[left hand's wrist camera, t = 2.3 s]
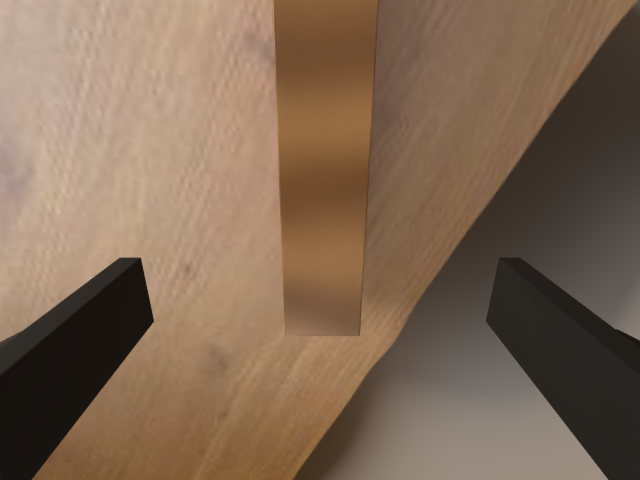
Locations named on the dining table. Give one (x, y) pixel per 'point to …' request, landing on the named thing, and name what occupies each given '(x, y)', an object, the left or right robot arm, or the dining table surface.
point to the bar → (324, 158)
